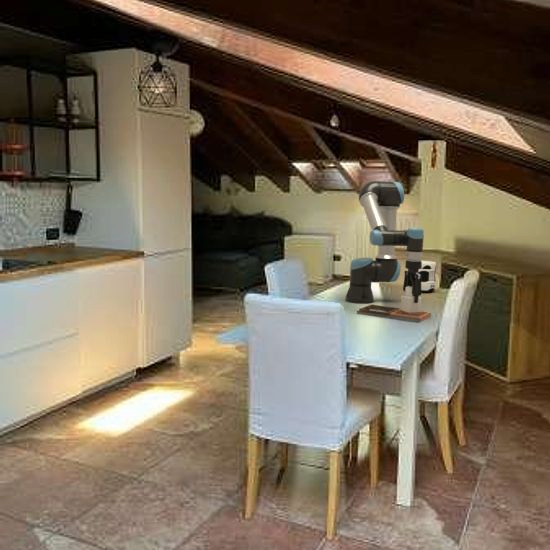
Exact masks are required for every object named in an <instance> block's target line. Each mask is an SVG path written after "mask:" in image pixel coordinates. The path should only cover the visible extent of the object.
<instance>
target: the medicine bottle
mask: <svg viewBox="0 0 550 550" xmlns="http://www.w3.org/2000/svg"><path fill="white" fill-rule="evenodd" d="M412 295H414V294H413V286H407V287H406V289H405V292H404V295H401V296H400V298H401V299H400V309H401V310H402V311H405V312H408V313H413V312H421V311H422V303H423V302H422V300H423V298H422V297H421V296H419V297H418V310H412V297H413V296H412Z"/></svg>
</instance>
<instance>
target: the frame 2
mask: <svg viewBox="0 0 550 550" xmlns="http://www.w3.org/2000/svg"><path fill="white" fill-rule="evenodd" d="M431 314H432V312H430V311H429V312H428V311H422V310H421V312H413V313H408V312H405V311H402V310H401V308H399V310H397V311H394V312H392V313H390V315H393V316H400V317H407V318H413V319H420V322H419V323H421V322H422V321H424V320H427V319H429V318H430V317H431V316H432V315H431Z"/></svg>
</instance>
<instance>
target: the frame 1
mask: <svg viewBox="0 0 550 550" xmlns="http://www.w3.org/2000/svg"><path fill="white" fill-rule="evenodd" d="M399 309H400V308H398V307H393V306H392V307H391V306H385V305H378V304H369V305H367V306H364V307H361V308H359V309H358V311H365V312H372V313H379V314H386V315H390V313H392V312H394V311H397V310H399Z"/></svg>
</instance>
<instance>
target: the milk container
mask: <svg viewBox="0 0 550 550" xmlns="http://www.w3.org/2000/svg"><path fill="white" fill-rule="evenodd" d="M421 262H422V268H421V269H419V270H418V271H419V274H421V275H422V278H421V293H431V292H434V291H435V290H436V288H437V280H436V272H437V270H436V268H437V262H435V261H433V260H432V261H431V260H430V261H429V260H421ZM412 286H413V285H412Z"/></svg>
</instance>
